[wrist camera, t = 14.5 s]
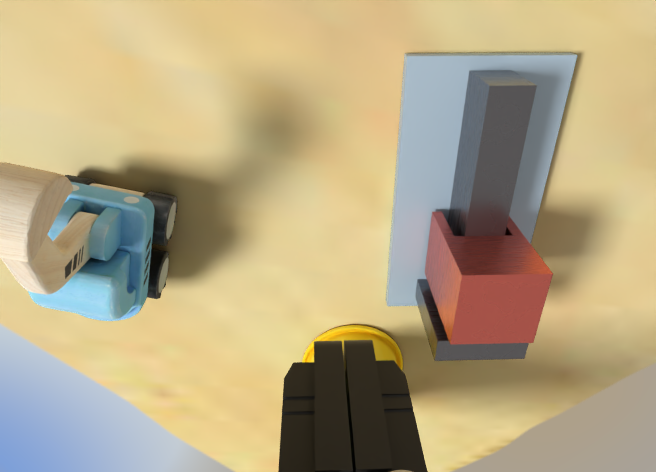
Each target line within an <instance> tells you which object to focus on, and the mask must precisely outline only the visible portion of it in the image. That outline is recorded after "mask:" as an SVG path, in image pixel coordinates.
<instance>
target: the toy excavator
mask: <svg viewBox="0 0 656 472" xmlns="http://www.w3.org/2000/svg"><path fill="white" fill-rule="evenodd" d="M176 212H177V198H176V197H175V196H172V195H167V194H163V193H157V192H153V191H149V192H148V193H147V194H145V193H142V192H137V191H132V190H127V189H122V188H117V187H112V186H106V185H101V184H96V182H95V181H94V180H93V179H89V178H82V177H76V176H70V175H65V176H64V175H61V174H57V173H53V172H48V171H44V170H39V169H34V168H29V167H25V166H20V165H15V164H10V163H0V258H1V259H2V260H3V262H4V263H5V265H6V266H7V267H8V269H9V270H10V272H11V273H12V274H13V276H14V277H15V279H16V280H17V281H18V282H19V284H20V285H21V286H22V287H23V288H24V289H26V290H28V292H29V295H30V297H31V298H32V300H33V301H34V302H35V303H36V304H38V305H40V306H42V307H46V308H51V309H56V310H61V311H67V312H72V313H77V314H79V315H82V316H84V317H87V318H91V319H96V320H103V321H117V320H123V319H127V318H130V317H132V316H134V315H136V314H137V313H138V312H139V311H140V310H141V308H142V306H143V304H144V303H145V300H146V298H147V297H149V298H154V299H158V298H160V296H161V292H162V289H163V288H164V287H165V285H166V278H167V274H168V263H169V259H168V255H169V254H168V252H166V251H160V250H155V249H151V247H152V244H158V245H164V246H166V245H167V243H168V240H169V239H170V238H171V237H172V230H173V225H174V223H175V221H174V220H175V213H176Z"/></svg>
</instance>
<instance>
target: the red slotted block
mask: <svg viewBox="0 0 656 472" xmlns="http://www.w3.org/2000/svg"><path fill="white" fill-rule="evenodd" d="M425 275H426V278H427V281H428V284H429V287H430V289H431V292H432V295H433V298H434V301H435V303H436V306H437V309H438V312H439V315H440V317H441V320H442V323H443V326H444V329H445V331H446V334H447V337H448V340H449V343H450V345H451V344H496V343H533V342H534V338H535V335H536V331H537V328H538V324H539V321H540V317H541V314H542V310H543V307H544V303H545V300H546V296H547V293H548V289H549V286H550V282H551V279H552V275H553V273H552V272H551V271H550V269H549V268H548V267H547V265H546V264H545V263H544V261H543V260H542V259H541V257H540V256H539V255H538V253H537V252H536V251H535V249H534V248H533V247H532V245H531V244H530V243H529V242H528V240H527V239H526V238H525V236H524V235H523V234H522V232H521V231H520V230H519V228H518V227H517V226H516V224H515V223H514V222H513V220H512V219H511V218H510V216H509V218H508V223H507V227H506V232H505V236H454V235H453V233H452V231H451V229H450V227H449V225H448V223H447V221H446V219H445V217H444V215H443V213H442V211H440V212H432V216H431V224H430V232H429V240H428V248H427V256H426V264H425Z"/></svg>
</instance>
